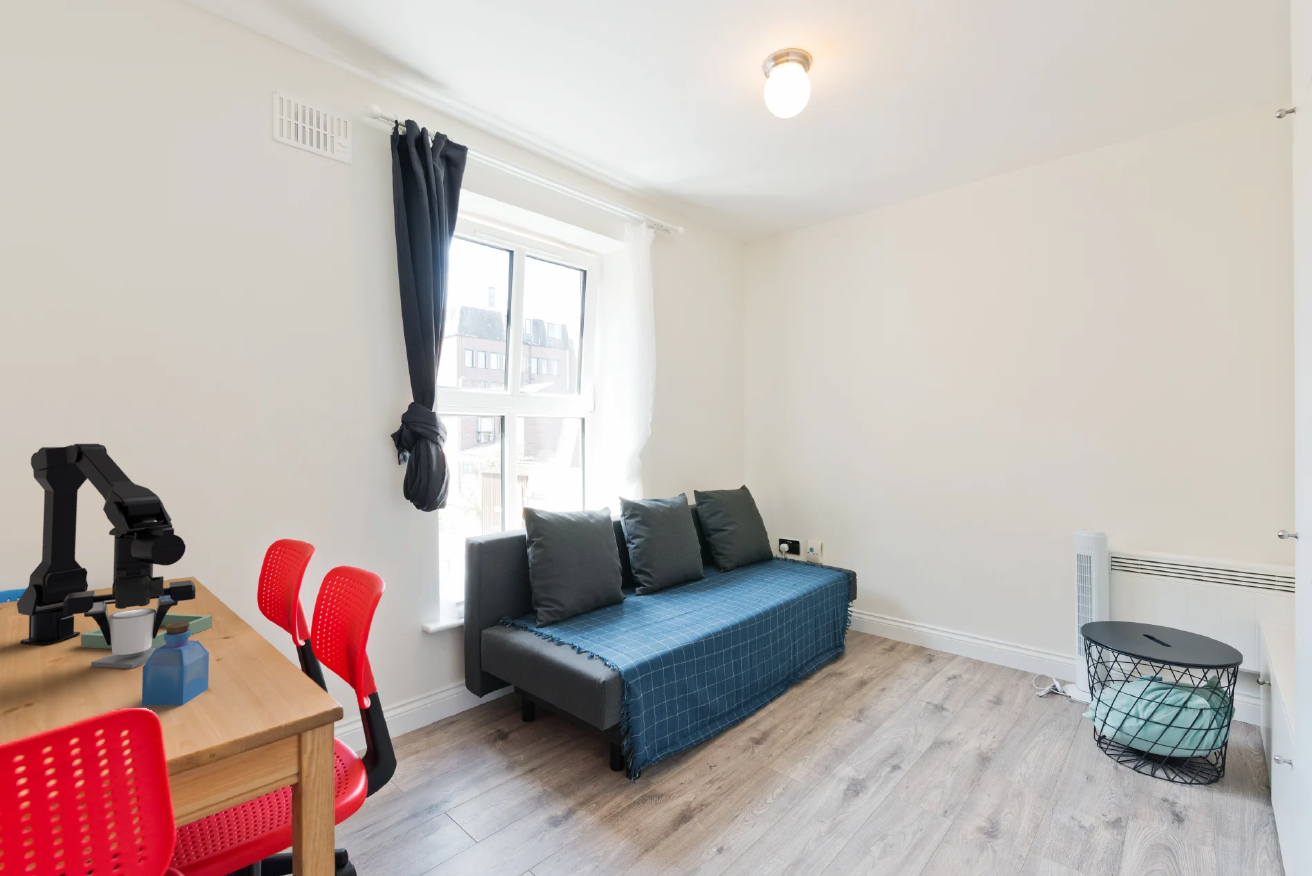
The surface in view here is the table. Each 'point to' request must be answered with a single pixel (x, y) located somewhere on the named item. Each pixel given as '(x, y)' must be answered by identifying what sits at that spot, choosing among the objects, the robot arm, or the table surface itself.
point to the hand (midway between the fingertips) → (131, 641)
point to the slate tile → (124, 660)
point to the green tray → (196, 625)
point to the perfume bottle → (175, 669)
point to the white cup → (131, 630)
